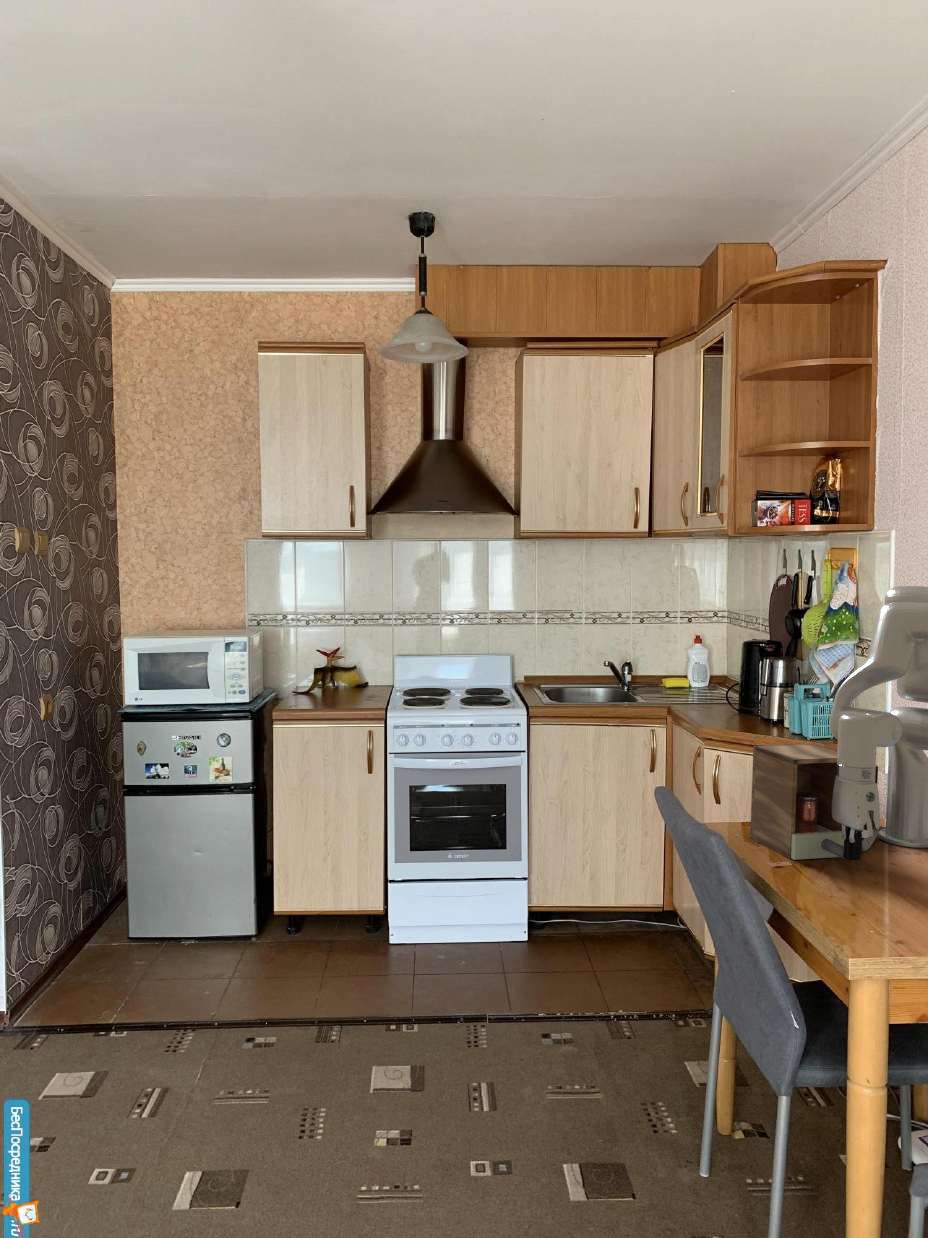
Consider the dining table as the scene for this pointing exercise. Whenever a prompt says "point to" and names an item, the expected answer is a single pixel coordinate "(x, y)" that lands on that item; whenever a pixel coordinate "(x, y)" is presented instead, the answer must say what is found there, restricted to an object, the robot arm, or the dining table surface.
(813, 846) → the green drawer
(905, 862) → the dining table surface
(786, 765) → the drawer cabinet
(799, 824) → the tea tin
